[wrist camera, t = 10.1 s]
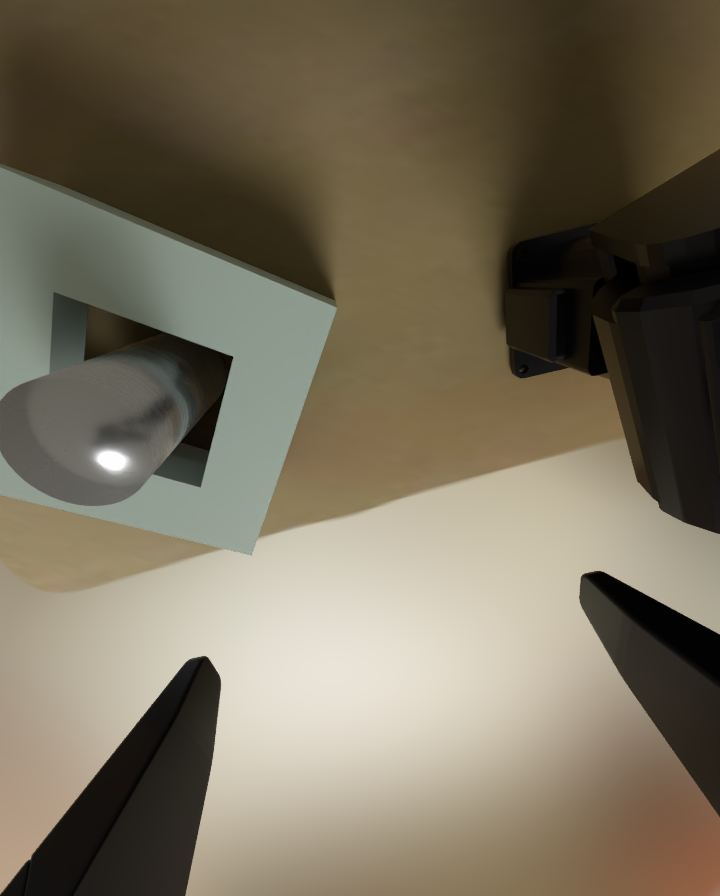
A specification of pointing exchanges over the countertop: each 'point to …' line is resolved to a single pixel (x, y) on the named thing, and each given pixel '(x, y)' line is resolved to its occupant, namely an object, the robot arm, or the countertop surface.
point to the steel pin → (108, 418)
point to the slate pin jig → (175, 312)
